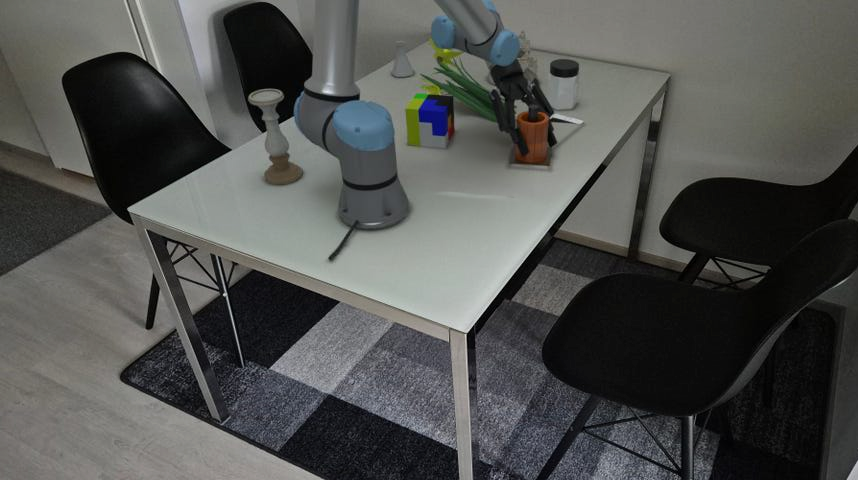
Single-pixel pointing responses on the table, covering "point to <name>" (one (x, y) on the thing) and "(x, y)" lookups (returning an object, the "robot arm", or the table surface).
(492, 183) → the table surface
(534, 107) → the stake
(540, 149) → the orange hollow cylinder
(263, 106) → the candle holder
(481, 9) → the robot arm
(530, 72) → the ceramic cottage
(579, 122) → the cell phone
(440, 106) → the puzzle toy
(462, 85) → the daffodil flowers
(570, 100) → the jar
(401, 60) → the flask
